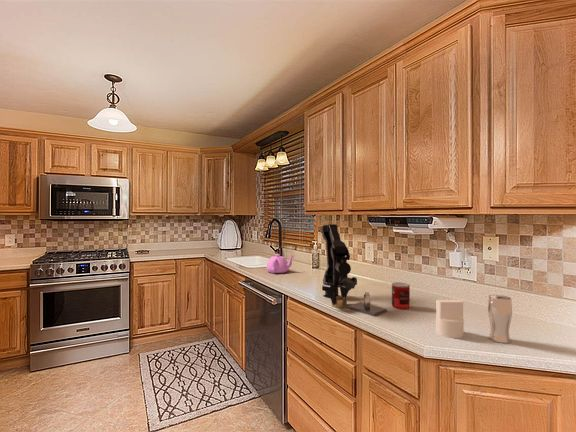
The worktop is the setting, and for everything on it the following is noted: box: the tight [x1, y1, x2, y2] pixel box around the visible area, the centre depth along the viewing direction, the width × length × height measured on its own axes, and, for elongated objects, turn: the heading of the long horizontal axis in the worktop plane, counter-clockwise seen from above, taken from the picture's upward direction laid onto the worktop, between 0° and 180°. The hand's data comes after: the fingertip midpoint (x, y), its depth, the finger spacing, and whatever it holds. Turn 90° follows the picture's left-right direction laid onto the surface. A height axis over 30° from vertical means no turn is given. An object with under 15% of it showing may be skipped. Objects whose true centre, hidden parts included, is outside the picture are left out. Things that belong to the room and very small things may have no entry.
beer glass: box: [487, 294, 513, 344], centre depth 107 cm, size 7×7×15 cm
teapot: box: [265, 253, 295, 274], centre depth 232 cm, size 22×22×14 cm
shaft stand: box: [347, 291, 388, 317], centre depth 140 cm, size 14×10×8 cm
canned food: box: [391, 281, 411, 310], centre depth 144 cm, size 8×8×11 cm
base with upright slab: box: [435, 299, 465, 339], centre depth 112 cm, size 9×9×12 cm
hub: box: [331, 295, 348, 309], centre depth 147 cm, size 7×7×4 cm
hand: (339, 303), depth 147 cm, fingers closed on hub, 7 cm apart
